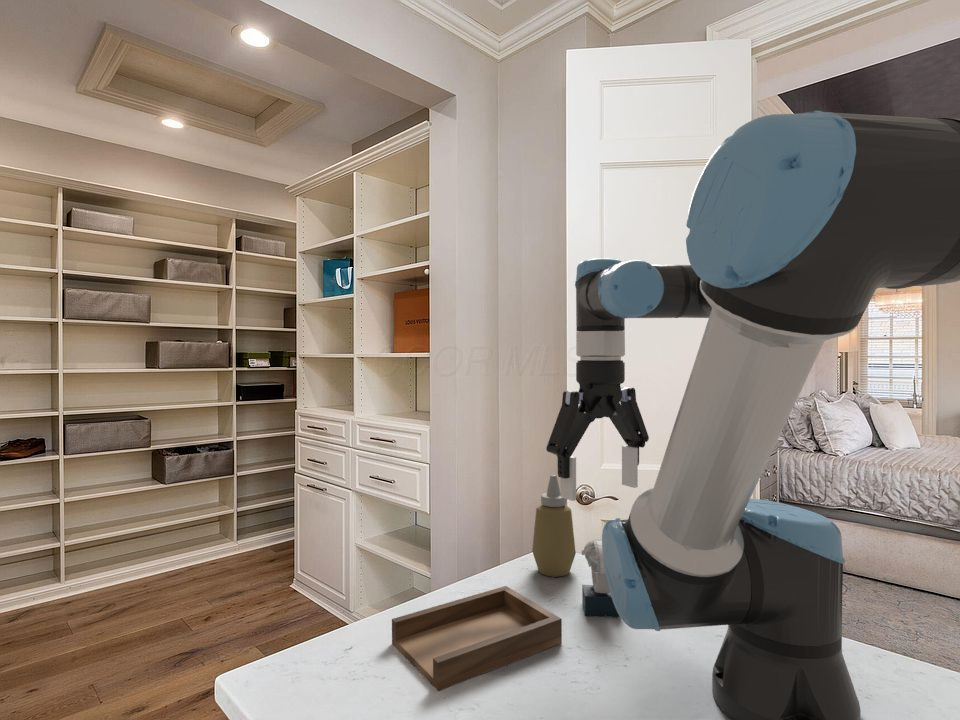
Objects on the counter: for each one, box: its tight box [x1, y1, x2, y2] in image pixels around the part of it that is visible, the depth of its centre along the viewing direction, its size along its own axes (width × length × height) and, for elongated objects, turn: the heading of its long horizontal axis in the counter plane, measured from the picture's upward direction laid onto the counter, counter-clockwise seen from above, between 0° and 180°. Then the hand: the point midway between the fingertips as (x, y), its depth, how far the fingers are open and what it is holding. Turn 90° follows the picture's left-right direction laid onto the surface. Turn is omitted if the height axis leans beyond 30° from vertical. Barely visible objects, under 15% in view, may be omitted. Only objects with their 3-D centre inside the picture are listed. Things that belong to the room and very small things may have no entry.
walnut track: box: [391, 585, 563, 692], centre depth 80 cm, size 13×20×4 cm
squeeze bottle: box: [531, 474, 576, 578], centre depth 105 cm, size 8×8×18 cm
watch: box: [581, 538, 620, 618], centre depth 90 cm, size 6×8×11 cm
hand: (600, 492), depth 90 cm, fingers open, 13 cm apart
